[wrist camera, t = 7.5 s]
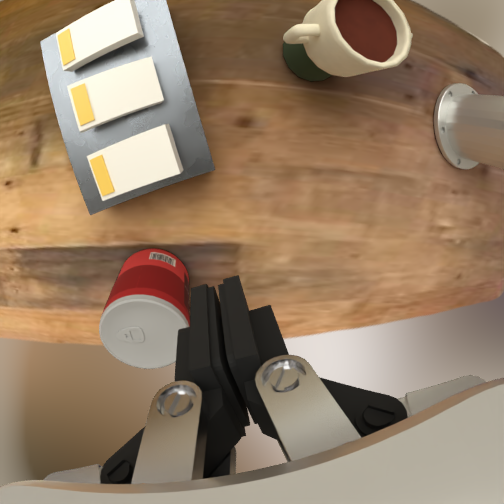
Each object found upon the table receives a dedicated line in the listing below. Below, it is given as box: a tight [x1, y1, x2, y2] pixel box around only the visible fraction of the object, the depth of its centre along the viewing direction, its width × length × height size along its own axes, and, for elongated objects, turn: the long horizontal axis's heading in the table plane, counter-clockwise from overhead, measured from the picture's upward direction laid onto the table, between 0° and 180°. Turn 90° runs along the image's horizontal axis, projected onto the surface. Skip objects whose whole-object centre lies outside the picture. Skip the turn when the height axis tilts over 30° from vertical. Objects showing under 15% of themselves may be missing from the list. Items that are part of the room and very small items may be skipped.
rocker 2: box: [67, 56, 164, 133], centre depth 20 cm, size 7×4×2 cm, turn 104°
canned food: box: [99, 249, 190, 369], centre depth 29 cm, size 8×8×11 cm
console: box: [41, 0, 215, 215], centre depth 23 cm, size 12×18×6 cm
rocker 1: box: [56, 0, 144, 72], centre depth 17 cm, size 7×4×2 cm, turn 105°
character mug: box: [283, 0, 412, 81], centre depth 21 cm, size 11×7×13 cm, turn 101°
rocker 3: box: [87, 124, 183, 201], centre depth 22 cm, size 7×4×2 cm, turn 105°
